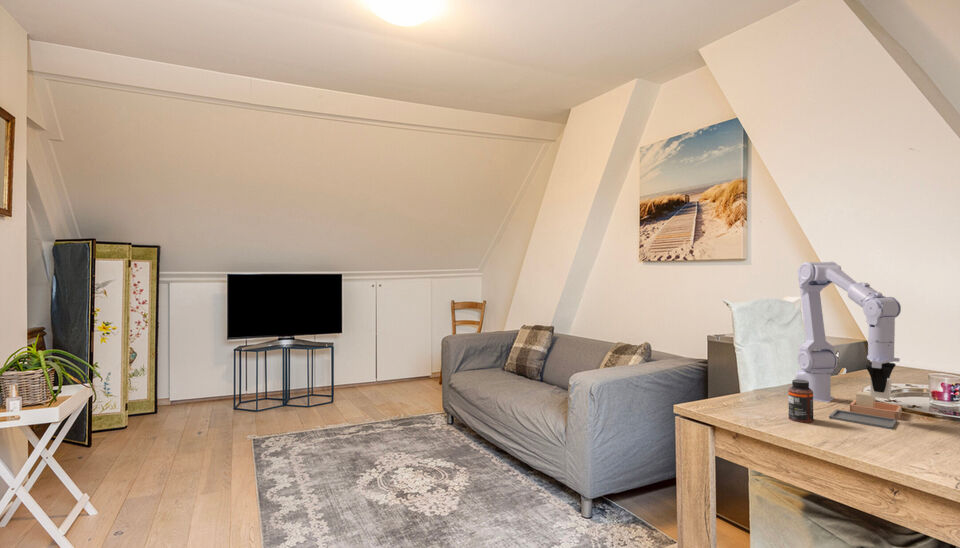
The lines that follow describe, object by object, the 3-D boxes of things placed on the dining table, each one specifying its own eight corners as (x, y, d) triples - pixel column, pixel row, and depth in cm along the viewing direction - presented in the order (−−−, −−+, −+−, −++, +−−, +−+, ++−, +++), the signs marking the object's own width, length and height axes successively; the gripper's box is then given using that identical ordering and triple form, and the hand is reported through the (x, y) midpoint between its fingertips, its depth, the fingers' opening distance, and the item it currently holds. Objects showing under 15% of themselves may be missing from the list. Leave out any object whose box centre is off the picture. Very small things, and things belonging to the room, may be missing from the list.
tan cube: (856, 410, 153) (856, 393, 152) (858, 407, 155) (858, 391, 155) (873, 413, 150) (873, 396, 150) (875, 410, 153) (875, 393, 152)
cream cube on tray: (870, 396, 143) (870, 378, 143) (873, 393, 146) (873, 376, 146) (888, 399, 141) (889, 381, 140) (891, 396, 143) (891, 378, 143)
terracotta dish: (849, 413, 152) (849, 404, 152) (855, 406, 158) (855, 398, 158) (897, 421, 144) (897, 412, 144) (901, 414, 150) (901, 405, 150)
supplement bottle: (810, 418, 147) (810, 379, 147) (816, 425, 141) (816, 384, 141) (786, 417, 149) (786, 377, 149) (791, 423, 143) (791, 382, 143)
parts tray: (829, 419, 146) (829, 416, 146) (835, 412, 152) (836, 409, 152) (892, 430, 136) (892, 427, 136) (896, 422, 143) (896, 419, 142)
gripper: (895, 346, 135) (895, 398, 136) (903, 339, 145) (902, 387, 146) (862, 343, 140) (861, 393, 141) (872, 336, 150) (871, 383, 151)
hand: (880, 390), depth 144 cm, fingers closed on cream cube on tray, 4 cm apart
